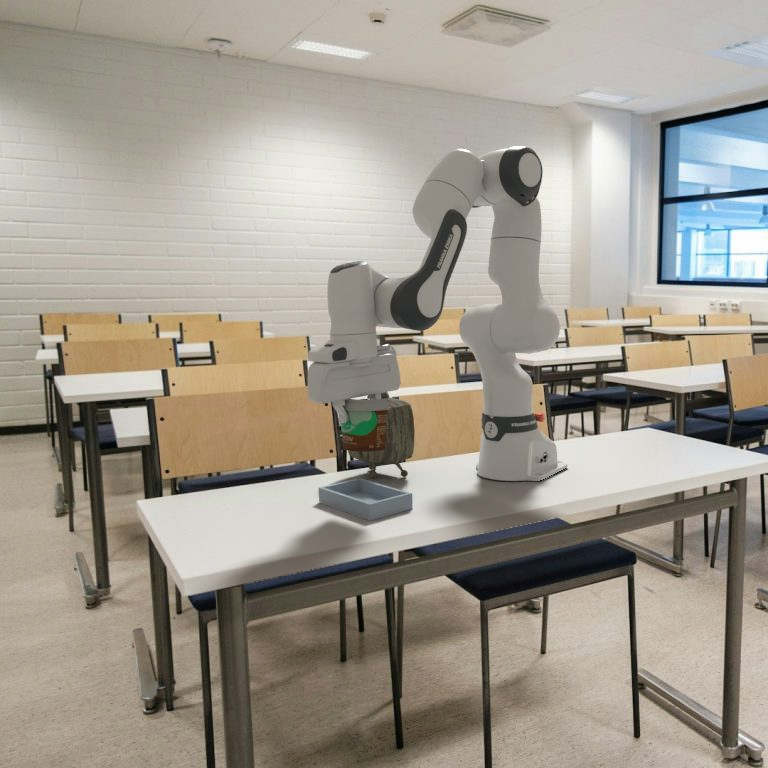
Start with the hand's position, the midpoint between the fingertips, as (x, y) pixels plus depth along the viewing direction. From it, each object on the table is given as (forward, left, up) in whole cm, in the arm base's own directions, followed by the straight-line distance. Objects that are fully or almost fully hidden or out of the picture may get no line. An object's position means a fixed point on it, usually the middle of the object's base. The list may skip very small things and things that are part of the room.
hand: (358, 419), depth 134 cm
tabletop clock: (-19, -17, -18) cm, 31 cm away
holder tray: (-2, -1, -18) cm, 18 cm away
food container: (+1, 0, -6) cm, 6 cm away
